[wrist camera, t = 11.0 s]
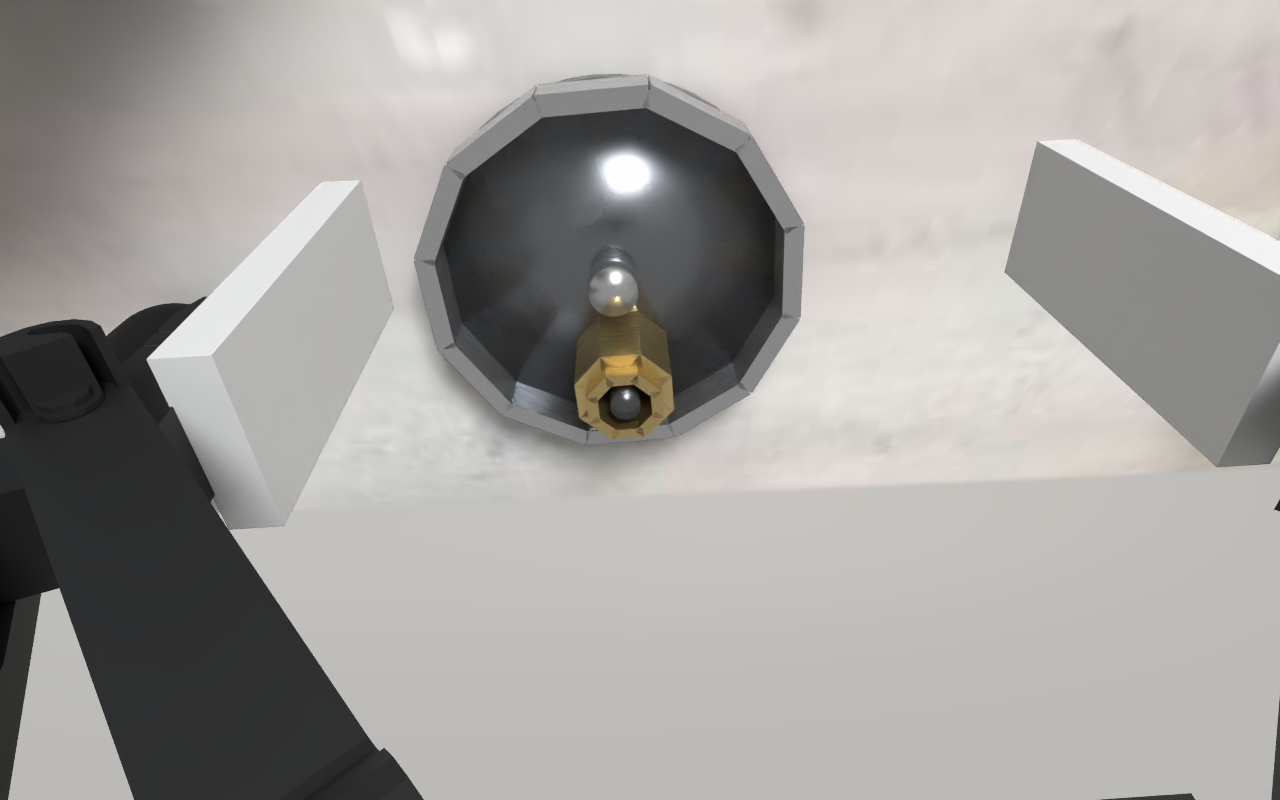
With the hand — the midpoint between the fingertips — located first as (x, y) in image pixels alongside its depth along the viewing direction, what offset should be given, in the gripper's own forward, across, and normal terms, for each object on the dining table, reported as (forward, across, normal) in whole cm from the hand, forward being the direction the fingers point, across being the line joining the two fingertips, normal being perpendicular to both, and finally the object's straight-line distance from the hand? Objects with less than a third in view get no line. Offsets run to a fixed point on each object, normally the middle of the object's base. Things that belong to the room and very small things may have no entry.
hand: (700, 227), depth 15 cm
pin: (+25, -2, -17) cm, 30 cm away
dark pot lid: (+25, -2, -12) cm, 28 cm away
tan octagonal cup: (+24, -2, -17) cm, 29 cm away
